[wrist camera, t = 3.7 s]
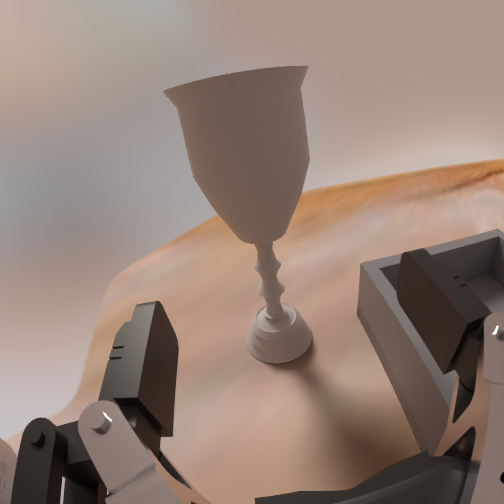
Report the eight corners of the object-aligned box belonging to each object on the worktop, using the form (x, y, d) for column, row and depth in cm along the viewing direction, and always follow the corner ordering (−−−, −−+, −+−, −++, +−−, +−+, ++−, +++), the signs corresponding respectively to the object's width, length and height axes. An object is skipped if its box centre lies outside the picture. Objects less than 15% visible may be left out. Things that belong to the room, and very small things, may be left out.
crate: (434, 485, 10) (472, 457, 7) (356, 314, 23) (360, 263, 20) (573, 379, 10) (604, 334, 7) (486, 273, 23) (498, 228, 20)
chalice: (337, 315, 23) (323, 66, 14) (309, 385, 18) (277, 64, 9) (255, 300, 26) (211, 82, 17) (215, 357, 22) (133, 99, 12)
